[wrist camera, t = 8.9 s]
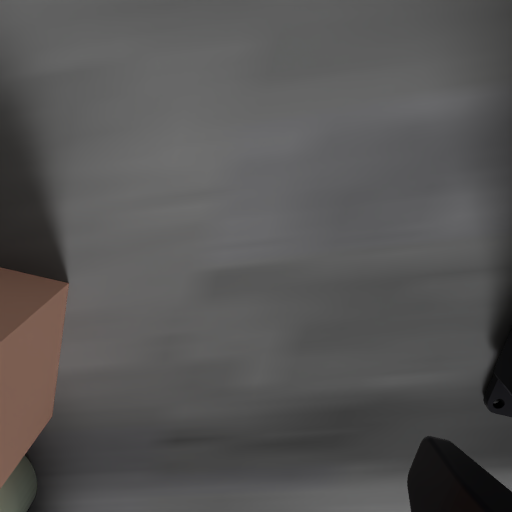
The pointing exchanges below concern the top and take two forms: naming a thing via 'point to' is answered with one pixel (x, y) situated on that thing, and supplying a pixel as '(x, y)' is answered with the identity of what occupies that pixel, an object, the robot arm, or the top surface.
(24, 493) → the spice jar
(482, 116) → the top surface
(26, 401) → the tea box
